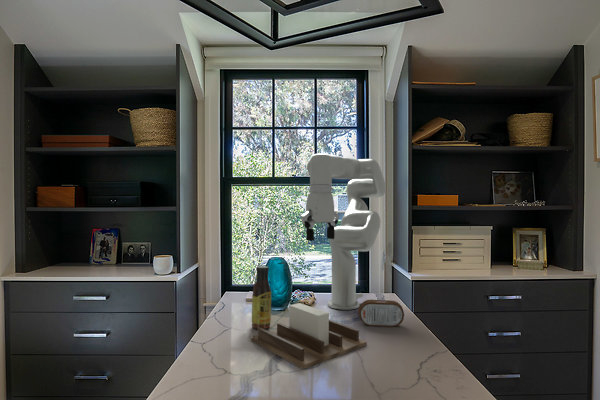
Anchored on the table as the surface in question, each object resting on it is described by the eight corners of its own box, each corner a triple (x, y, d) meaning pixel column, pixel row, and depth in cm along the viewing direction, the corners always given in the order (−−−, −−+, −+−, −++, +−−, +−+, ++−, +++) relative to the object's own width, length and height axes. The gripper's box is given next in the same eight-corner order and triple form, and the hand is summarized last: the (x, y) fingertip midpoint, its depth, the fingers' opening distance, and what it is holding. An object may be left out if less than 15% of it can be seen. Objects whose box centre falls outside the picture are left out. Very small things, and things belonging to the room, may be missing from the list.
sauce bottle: (261, 331, 119) (261, 269, 119) (247, 327, 122) (247, 267, 122) (275, 326, 124) (275, 266, 124) (261, 322, 128) (261, 264, 128)
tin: (403, 325, 126) (403, 300, 126) (404, 328, 123) (405, 302, 123) (358, 323, 128) (358, 298, 127) (358, 326, 124) (358, 301, 124)
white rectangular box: (299, 331, 116) (299, 302, 116) (328, 344, 106) (328, 312, 106) (289, 334, 113) (289, 305, 113) (318, 348, 103) (318, 315, 103)
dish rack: (311, 323, 127) (311, 311, 127) (366, 345, 108) (366, 331, 108) (251, 340, 111) (251, 327, 111) (303, 369, 93) (303, 353, 93)
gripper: (331, 190, 137) (330, 237, 138) (294, 189, 126) (294, 240, 126) (346, 190, 132) (345, 238, 132) (309, 189, 121) (308, 242, 121)
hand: (320, 239), depth 129 cm, fingers open, 9 cm apart
